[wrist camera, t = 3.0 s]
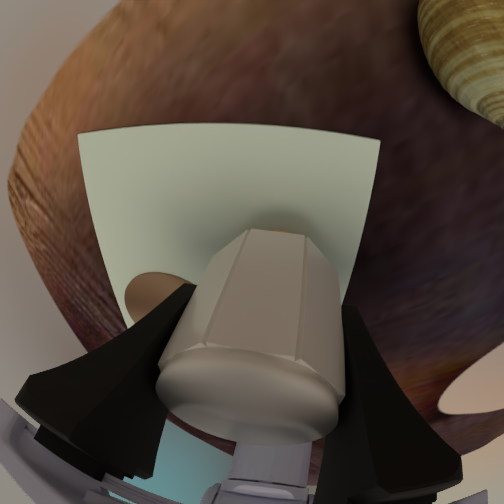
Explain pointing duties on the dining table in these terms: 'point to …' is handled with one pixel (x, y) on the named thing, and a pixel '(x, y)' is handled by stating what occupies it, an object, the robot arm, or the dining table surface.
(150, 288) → the coaster
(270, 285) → the cup
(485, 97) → the seashell
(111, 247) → the placemat
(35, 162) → the dining table surface
